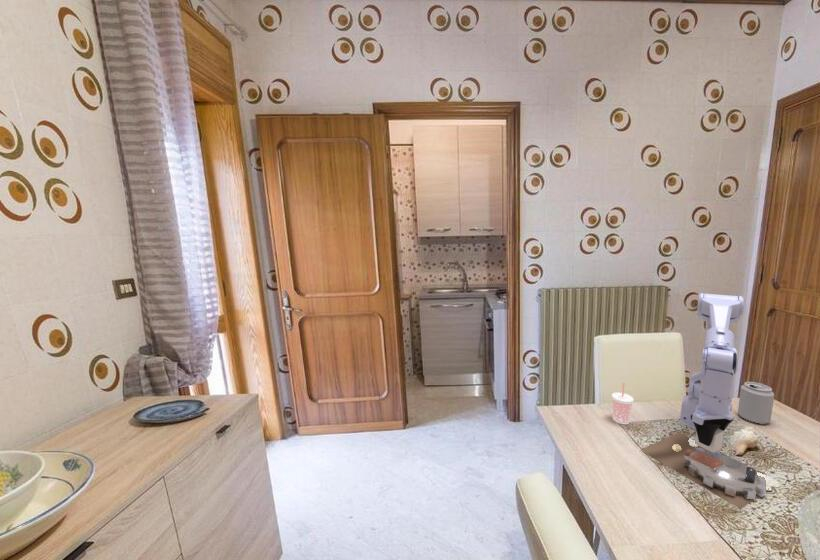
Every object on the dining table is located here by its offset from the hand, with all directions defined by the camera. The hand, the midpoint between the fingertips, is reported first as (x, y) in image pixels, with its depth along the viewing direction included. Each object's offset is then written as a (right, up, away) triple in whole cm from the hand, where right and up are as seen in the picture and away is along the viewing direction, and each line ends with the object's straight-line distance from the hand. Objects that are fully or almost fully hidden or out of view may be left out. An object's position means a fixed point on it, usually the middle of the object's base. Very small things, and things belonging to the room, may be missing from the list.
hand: (709, 441), depth 85 cm
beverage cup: (-8, -5, +23) cm, 25 cm away
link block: (0, -1, 0) cm, 1 cm away
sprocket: (+2, -9, -2) cm, 9 cm away
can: (+36, -4, +22) cm, 42 cm away
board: (+1, -8, +2) cm, 8 cm away
